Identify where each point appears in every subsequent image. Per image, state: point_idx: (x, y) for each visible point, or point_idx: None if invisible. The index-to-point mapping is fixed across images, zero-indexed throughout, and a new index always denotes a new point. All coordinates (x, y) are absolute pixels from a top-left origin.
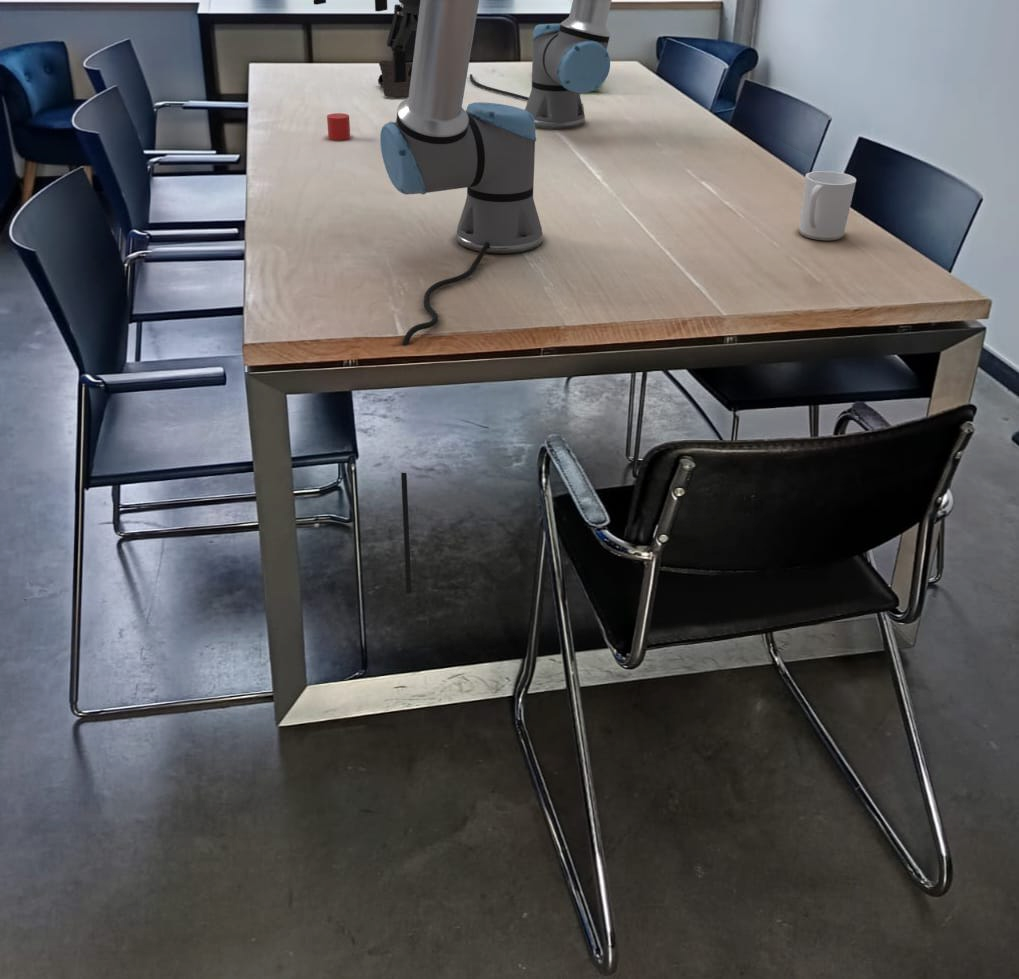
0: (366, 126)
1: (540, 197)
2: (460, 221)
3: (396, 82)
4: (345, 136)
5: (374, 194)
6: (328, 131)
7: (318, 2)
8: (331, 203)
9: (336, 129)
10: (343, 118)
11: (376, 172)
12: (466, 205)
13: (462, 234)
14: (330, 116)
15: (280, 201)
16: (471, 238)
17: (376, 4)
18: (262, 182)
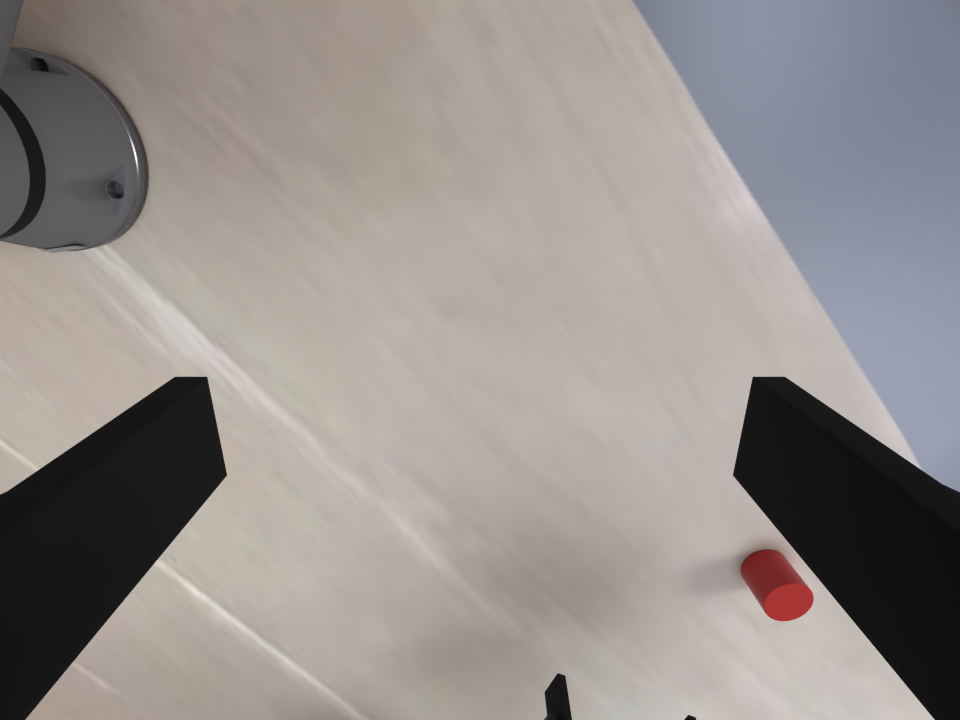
0: (753, 649)
1: None
2: (73, 89)
3: (687, 716)
4: (747, 567)
5: (474, 285)
6: (788, 563)
7: (756, 401)
8: (515, 176)
9: (769, 567)
10: (767, 594)
11: (562, 415)
12: (24, 86)
13: (60, 63)
14: (801, 591)
15: (627, 120)
16: (24, 49)
17: (168, 398)
18: (747, 223)
